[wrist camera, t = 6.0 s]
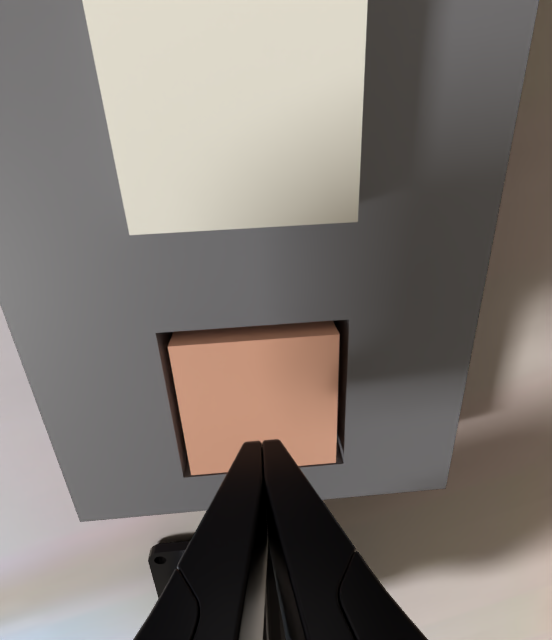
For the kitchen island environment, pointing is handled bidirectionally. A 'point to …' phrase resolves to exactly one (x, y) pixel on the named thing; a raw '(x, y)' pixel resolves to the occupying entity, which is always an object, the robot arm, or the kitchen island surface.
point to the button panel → (257, 258)
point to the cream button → (232, 110)
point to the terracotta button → (257, 391)
